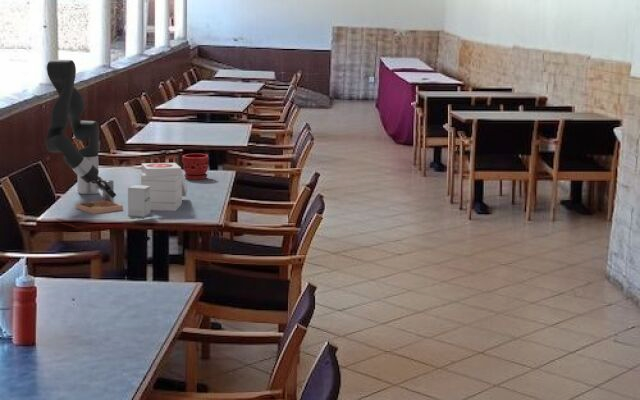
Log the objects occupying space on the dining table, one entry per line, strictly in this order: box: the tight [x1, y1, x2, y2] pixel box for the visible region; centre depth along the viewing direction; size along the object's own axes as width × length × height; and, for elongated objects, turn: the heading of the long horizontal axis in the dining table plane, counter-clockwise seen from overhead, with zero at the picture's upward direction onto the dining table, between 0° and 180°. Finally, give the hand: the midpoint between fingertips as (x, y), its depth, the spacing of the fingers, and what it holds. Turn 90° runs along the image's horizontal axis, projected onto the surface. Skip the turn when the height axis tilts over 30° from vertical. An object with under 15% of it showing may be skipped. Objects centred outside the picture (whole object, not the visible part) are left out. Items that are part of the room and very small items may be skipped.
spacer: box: [102, 179, 115, 203], centre depth 435 cm, size 5×5×11 cm
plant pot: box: [181, 153, 210, 181], centre depth 510 cm, size 13×13×12 cm
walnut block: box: [80, 201, 94, 208], centre depth 423 cm, size 4×4×2 cm
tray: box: [75, 199, 124, 215], centre depth 424 cm, size 14×14×3 cm
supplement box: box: [127, 184, 151, 220], centre depth 415 cm, size 7×7×13 cm
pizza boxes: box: [140, 162, 188, 212], centre depth 442 cm, size 19×30×18 cm, turn 177°
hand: (112, 195), depth 436 cm, fingers closed on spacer, 4 cm apart
